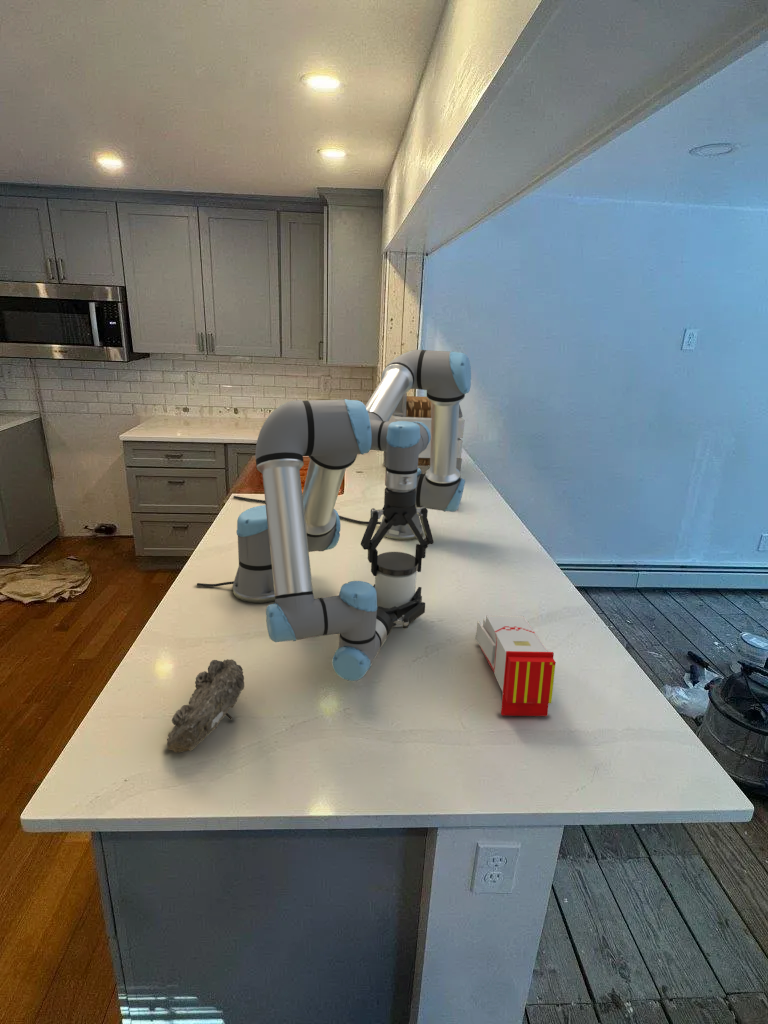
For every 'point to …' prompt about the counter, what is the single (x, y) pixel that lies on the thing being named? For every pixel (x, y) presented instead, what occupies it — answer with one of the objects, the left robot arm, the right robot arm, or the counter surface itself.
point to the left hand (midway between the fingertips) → (399, 587)
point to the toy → (518, 664)
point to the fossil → (206, 705)
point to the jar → (394, 590)
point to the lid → (397, 563)
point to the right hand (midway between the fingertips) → (395, 571)
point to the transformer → (421, 412)
